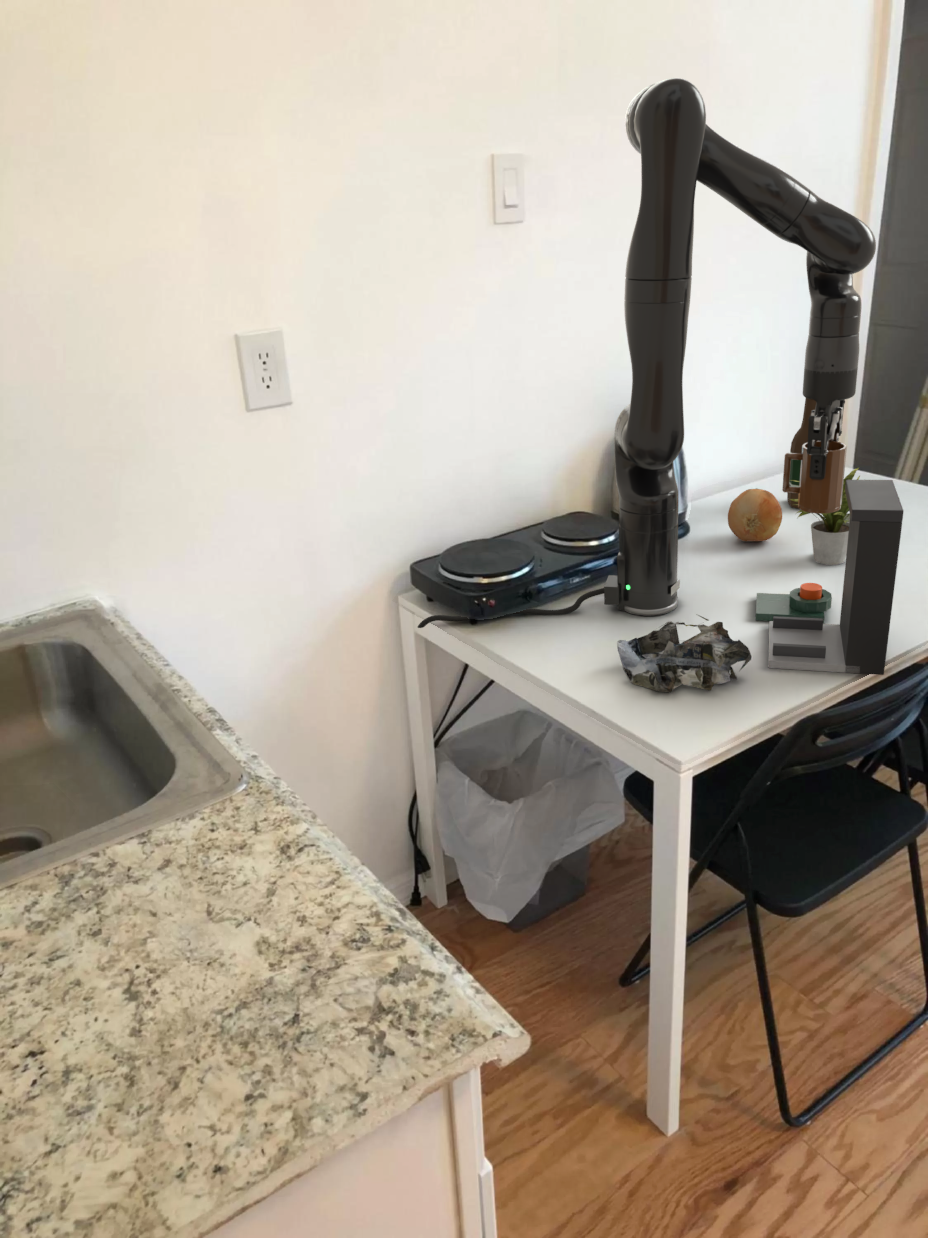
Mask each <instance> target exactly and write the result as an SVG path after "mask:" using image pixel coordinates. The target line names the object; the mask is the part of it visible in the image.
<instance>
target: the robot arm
mask: <svg viewBox="0 0 928 1238" xmlns="http://www.w3.org/2000/svg"><path fill="white" fill-rule="evenodd" d="M624 131H625V134H626V137H627V140H628V143H629V144H630V146H631V147H632V148H633V149H634V151H636V152H637V153H638V154H640V168H641V169H640V170H641V171H640V172H641V185H640V186H641V187H640V200H639V207H638V213H637V217H636V221H635V224H634V227H633V231H632V236H631V239H630V244H629V248H628V253H627V257H626V263H625V274H624V277H625V278H624V300H623V301H624V302H623V308H624V309H623V311H624V325H625V332H626V338H627V346H628V351H629V357H630V358H629V359H630V363H631V364H630V365H631V394H630V403H629V404H627V405H626V406H625V407H624V408H623V409H622V410H621V411H620V413H619V414H618V417H617V419H616V421H615V426H614V432H613V433H614V434H613V437H614V438H613V448H614V471H615V473H614V474H615V484H616V490H617V499H618V553H617V556H616V574H617V575H614V574H613V575H610V574H609V575H608V576H607V578H606V581H605V583H604V585H603V587H602V588H598V589H594V590H591V591H588V592H586V593H584V594H582V595H580V596H579V597H578V598H577V599H576V601H575V602H574V603H573V604H572V605H569V606H568V607H564V608H560V609H542V608H531V607H530V608H529V607H528V608H529V609H526V610H523V611H520V612H516V613H513V614H510V615H509V616H511V615H537V616H538V615H539V616H557V615H558V616H559V615H566V614H570V613H572V612H575V611H576V610H578V609H579V608H580V607H581V605H582V604H583V602H584V601H586V600H588V599H590V598H593V597H597V596H599V595H603V601H604V602H603V603H604V605H607V606H617V611H621V612H622V611H623V612H626V613H628V614H631V615H637V616H643V617H645V616H646V617H647V616H649V617H651V616H660V615H665V614H668V613H670V612H673V611H674V610H675V609H676V608H677V607H678V600H679V599H678V590H679V589H680V588H681V583H680V582H681V579H678V561H679V560H678V559H679V558H678V557H679V555H678V554H679V553H678V552H679V548H678V547H679V486H678V483H677V480H676V474H675V468H674V461H675V460H677V458H678V456H679V455H680V453H681V451H682V448H683V445H684V441H685V420H684V417H685V415H684V390H683V389H684V388H683V383H684V381H683V379H684V378H683V376H684V363H685V356H686V347H687V341H688V326H689V314H690V306H691V305H690V304H691V295H692V293H691V292H692V279H693V278H692V276H693V253H694V252H693V251H694V232H695V198H696V188H697V182H698V183H700V184H702V185H703V186H705V187H706V188H708V189H710V190H711V191H713V192H714V193H715V194H717V195H719V196H720V197H721V198H723V199H724V200H726V201H727V202H728V203H730V204H731V205H732V206H733V207H735V208H736V209H737V210H739V211H741V212H742V213H743V214H745V216H747V217H749V218H750V219H751V220H752V221H754V222H756V223H758V224H759V225H760V226H761V227H763V228H764V229H765V230H767V231H768V232H769V233H771V234H773V235H774V236H776V237H777V238H779V239H781V240H782V241H785V242H787V243H789V244H793V245H796V246H799V247H800V248H802V249H803V250H804V251H806V258H805V262H806V263H805V264H806V276H807V285H808V293H809V298H810V311H809V323H808V335H807V336H808V337H807V342H806V346H805V354H804V365H803V366H804V368H803V379H802V380H803V382H802V396H803V397H804V398H805V399H806V398H808V399H813V400H815V401H816V407H815V410H812V412H811V416H810V417H809V419H808V421H809V425H808V444H807V454H810V455H811V461H810V474H809V477H810V478H811V479H816V480H822V479H824V477H825V472H826V460H827V454H828V448H829V443H830V442H832V441H836V442H840V437H841V436H842V434H843V420H844V412H845V411H844V410H845V405H846V400H849V399H852V398H853V397H854V396H855V394H856V391H857V381H858V380H857V379H858V369H859V359H860V328H861V319H862V298H861V295H860V294H859V293H858V292H857V291H856V290H855V288H854V281H853V277H854V276H853V275H854V274H857V273H859V272H861V271H862V270H864V269H866V268H867V267H868V266H869V265H870V264H871V262H872V261H873V259H874V258H875V257H874V256H875V254H876V250H877V241H876V237H875V234H874V232H873V231H872V230H871V228H870V226H868V225H867V224H866V223H865V222H864V221H862V220H861V219H859V217H856V216H855V215H853V214H851V213H849V212H848V211H845V210H844V209H842V208H840V207H838V206H837V205H834V204H832V203H830V202H828V201H827V200H825V199H823V198H821V197H820V196H818V195H817V194H816V193H814V192H813V191H812V190H811V189H810V188H808V187H807V186H806V185H805V184H803V183H802V182H800V181H799V180H798V179H796V178H795V177H793V176H792V175H791V174H789V173H788V172H787V171H785V170H783V169H782V168H781V167H778V166H777V165H775V164H773V163H771V162H769V161H767V160H765V159H764V158H761V157H759V156H757V155H755V154H753V153H751V152H749V151H748V150H746V149H744V148H742V147H740V146H739V145H736V144H734V143H733V142H731V141H729V140H728V139H726V138H725V137H723V136H722V135H720V134H719V133H718V132H717V131H715V130H714V129H713V128H711V126H709V125H708V124H707V111H706V103H705V101H704V97H703V95H702V94H701V92H700V90H699V89H698V88H697V87H696V85H695V84H693V83H692V82H691V81H689V80H687V79H685V78H681V77H671V78H667V79H664V80H661V81H657V82H655V83H653V84H650V85H649V86H646V87H645V88H643V89H642V90H640V91H639V92H638V93H637V94H636V95H635V96H634V97H633V98H632V100H631V101H630V102H629V104H628V107H627V109H626V113H625V117H624ZM817 441H821V447H815V445H816V442H817ZM461 616H462V615H447V614H434V615H431V616H428V617H425V619H423V620H422V621H421V622H420V623H419V624H418V625H417V628H418V629H423V628H425V627H426V626H427V625H428V624H430V623H432V622H433V623H434V622H439V621H443V622H465V621H466V622H467V621H471V620H470V619H468V618H467V617H461Z"/></svg>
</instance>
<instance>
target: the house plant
mask: <svg viewBox="0 0 928 1238" xmlns="http://www.w3.org/2000/svg"><path fill="white" fill-rule="evenodd" d="M859 468H860V467H856V468H854V469H852V470H851V471H850V472H849V473H848V474H847V475H846V476H844V483H843V493H842V504H841V508H840V510H838V511H836V512H833V513H824V514H818V513H811V514H812V515H813V516H815V517H816V515H817V516H819V518H820V519H819V520H816V521H814V522H812V523H811V524H810V532H811V533H810V534H811V541H812V542H811V544H812V552H813V560H814V562H816V563H818V564H821V565H827V566H836V565H841V564H843V563H845V562H846V553H847V543H848V533H849V522H847V521H849V520H845V519H846V518H847V517H848V516H849V515H850V514H848V513H849V507H848V502H847V498H846V493H845V484H846V480H854V477H855V476H856V473H857V471H858V470H859ZM860 477H861V475H858V477H857V478H856V480H860ZM791 481H795V480H791ZM796 482H800V481H796ZM790 500H792V501H795V502H798V499H790ZM794 505H798V504H794ZM796 514H798V516H797V518H800V517H802V516H806V515H809V514H810V513H809V512H805V511H802V510H800V509H799V510H798V511H797V512H796ZM815 514H816V515H815ZM846 514H848V515H847V517H846V518H845V519H844V517H845V516H846ZM843 519H844V520H845V521H844V520H843Z"/></svg>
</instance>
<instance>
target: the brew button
mask: <svg viewBox="0 0 928 1238" xmlns="http://www.w3.org/2000/svg"><path fill="white" fill-rule="evenodd" d="M799 588H800V597H801V598H803V599H807V600H817V599H821V596H822V589H823V586H822V585H821V584H819V583H816V582H804V583H802V584H801V585H800V587H799Z"/></svg>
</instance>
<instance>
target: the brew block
mask: <svg viewBox="0 0 928 1238" xmlns="http://www.w3.org/2000/svg"><path fill="white" fill-rule="evenodd" d="M832 597H833V596H832V593H831V592H829V590H827V589H824V588H822V596H821V599H817V600H807V599H803V598H801V597H800V587H796V588H794V589H792V590H791V591H789V593H768V592H767V593H766V592H756V600H755V601H756V602H755V621H760V622H761V621H763V622H764V621H765V622H769V621H773V616H778V617H800V618H821V619H823V624H825V612H827V611H829V610H830V609H832V601H833V598H832Z"/></svg>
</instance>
